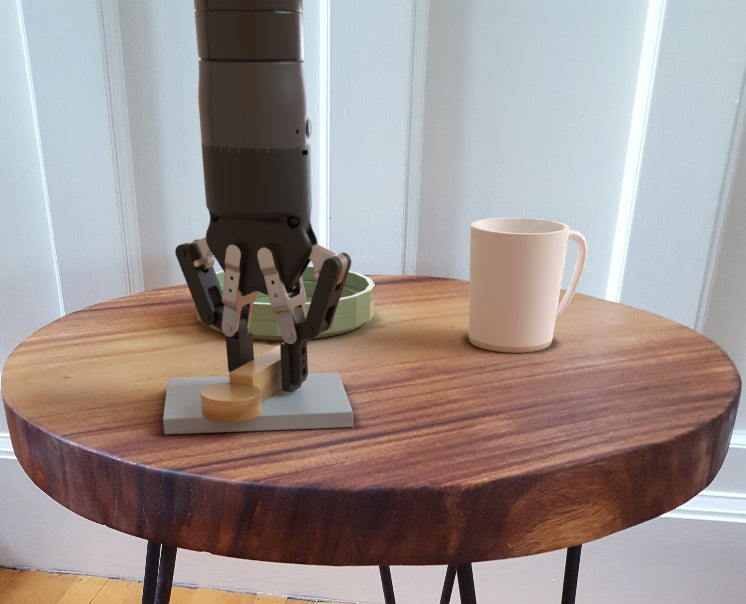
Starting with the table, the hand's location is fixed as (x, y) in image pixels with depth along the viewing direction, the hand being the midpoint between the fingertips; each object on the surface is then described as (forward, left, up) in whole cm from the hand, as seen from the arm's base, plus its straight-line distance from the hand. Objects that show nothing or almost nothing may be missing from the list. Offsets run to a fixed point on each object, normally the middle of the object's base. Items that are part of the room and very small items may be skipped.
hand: (268, 384), depth 75 cm
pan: (+3, +27, -2) cm, 27 cm away
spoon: (-1, -2, 0) cm, 2 cm away
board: (-1, -1, -2) cm, 2 cm away
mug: (+25, +16, -2) cm, 30 cm away
